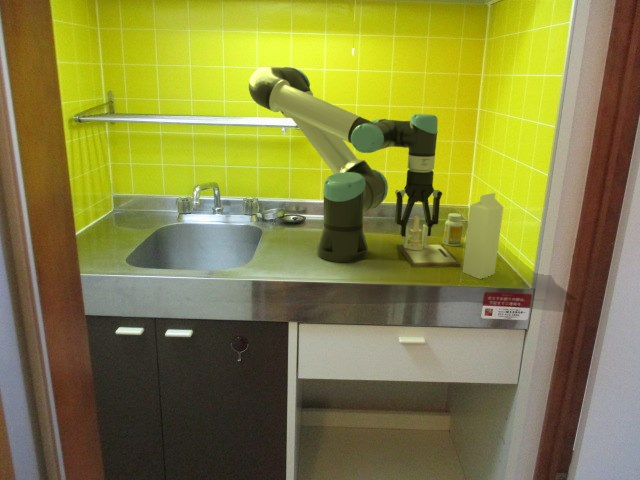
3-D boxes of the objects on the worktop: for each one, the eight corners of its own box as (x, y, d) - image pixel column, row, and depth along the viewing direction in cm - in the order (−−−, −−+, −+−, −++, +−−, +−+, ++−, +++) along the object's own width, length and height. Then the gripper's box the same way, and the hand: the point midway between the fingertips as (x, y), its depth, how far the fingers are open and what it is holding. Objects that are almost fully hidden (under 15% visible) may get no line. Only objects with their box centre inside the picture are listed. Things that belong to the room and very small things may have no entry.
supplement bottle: (439, 243, 158) (442, 214, 155) (450, 240, 161) (452, 211, 158) (453, 247, 154) (456, 218, 151) (464, 244, 157) (467, 215, 154)
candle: (421, 244, 152) (424, 211, 149) (424, 250, 147) (427, 216, 144) (404, 244, 152) (406, 211, 149) (407, 249, 147) (409, 216, 144)
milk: (494, 275, 133) (506, 195, 126) (480, 279, 130) (491, 198, 123) (475, 267, 138) (486, 190, 131) (461, 272, 135) (471, 193, 128)
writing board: (411, 267, 138) (411, 263, 138) (397, 247, 154) (398, 243, 154) (460, 266, 139) (460, 262, 139) (441, 246, 155) (442, 243, 155)
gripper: (392, 172, 138) (387, 250, 145) (455, 172, 139) (447, 250, 147) (386, 167, 145) (382, 242, 152) (447, 167, 146) (440, 242, 154)
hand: (414, 246), depth 149 cm, fingers closed on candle, 5 cm apart
